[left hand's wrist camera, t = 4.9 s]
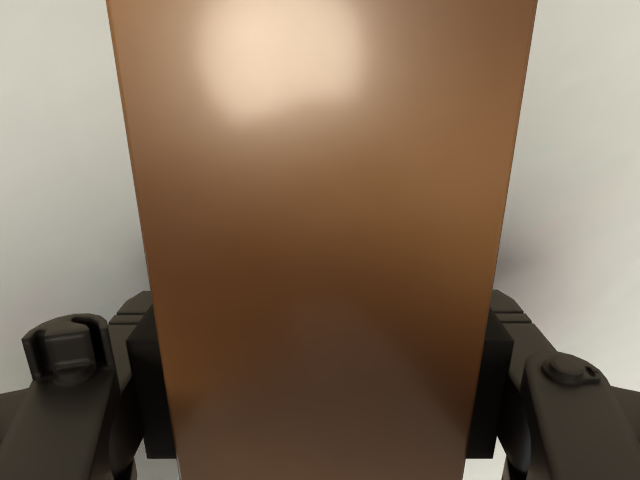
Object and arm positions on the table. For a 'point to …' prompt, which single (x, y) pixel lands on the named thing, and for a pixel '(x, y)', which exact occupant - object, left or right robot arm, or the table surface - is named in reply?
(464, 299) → the beam
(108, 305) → the table surface
